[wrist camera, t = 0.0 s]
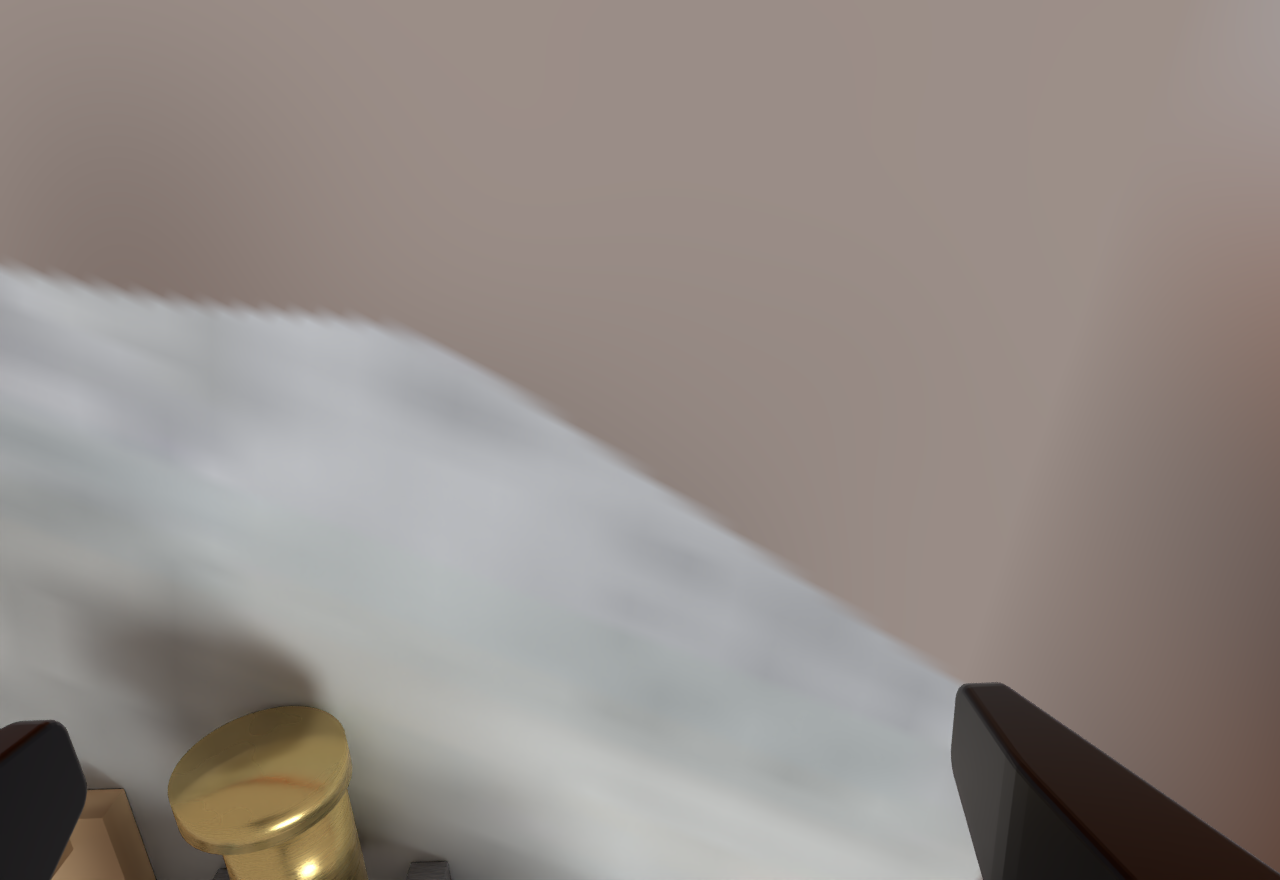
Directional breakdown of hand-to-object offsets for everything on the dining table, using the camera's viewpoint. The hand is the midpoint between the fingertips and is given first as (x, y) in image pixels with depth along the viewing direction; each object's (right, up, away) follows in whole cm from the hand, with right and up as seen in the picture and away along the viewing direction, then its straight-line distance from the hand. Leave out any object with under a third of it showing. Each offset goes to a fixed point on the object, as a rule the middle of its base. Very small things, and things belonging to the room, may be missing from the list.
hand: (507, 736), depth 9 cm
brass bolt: (-9, -8, +19) cm, 23 cm away
